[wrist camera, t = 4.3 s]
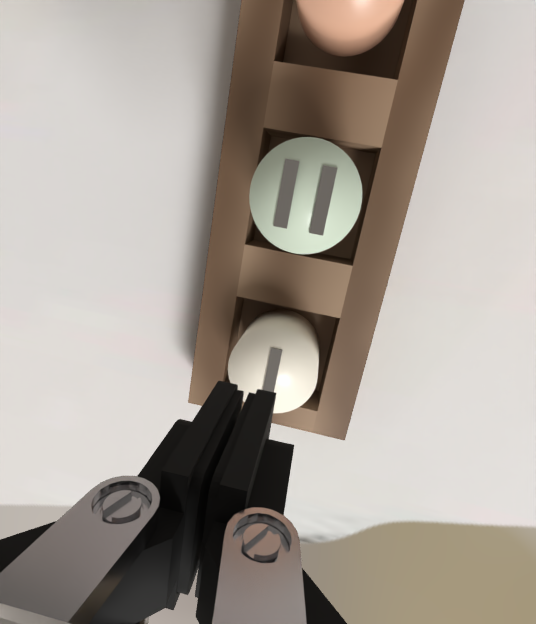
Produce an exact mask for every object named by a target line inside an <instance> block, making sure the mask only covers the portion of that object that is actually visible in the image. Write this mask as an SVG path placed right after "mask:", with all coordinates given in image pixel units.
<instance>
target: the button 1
mask: <svg viewBox="0 0 536 624" xmlns="http://www.w3.org/2000/svg"><path fill="white" fill-rule="evenodd" d="M319 352H320V343H319V338H318V335H317V332H316V330H315V329H314V327H313V326H312V324H311V323H310V322H309V321H308V320H307V319H306V318H304V317H303V316H302V315H300V314H298V313H296V312H293V311H290V310H284V309H276V310H270V311H267V312H264V313H262V314H260V315H259V316H257V317H256V318H255V319H254V320H253V321H252V322H251V323H250V325H249V326H248V327H247V329H246V330H245V332H244V334H243V335H242V337H241V338H240V340H239V341H238V343H237V344H236V346H235V347H234V349H233V351H232V352H231V355H230V358H229V362H228V375H229V380H230V383H233V384H237V385H238V390H241V391H244V396H243V401H244V402H245V400H246V398H247V396H248V394H249V392H250V393H255V394H256V391H257V389H261V390H265V391H270V392H275V393H276V399H275V405H274V411H273V413H284V412H289V411H292V410H294V409H296V408H298V407H300V406H301V405H303V404H304V403H305V402H306V401H307V400H308V399H309V398H310V396H311V395H312V393H313V392H314V390H315V387H316V384H317V379H318V366H319Z"/></svg>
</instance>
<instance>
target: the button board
mask: <svg viewBox="0 0 536 624" xmlns="http://www.w3.org/2000/svg"><path fill="white" fill-rule="evenodd" d="M463 4H464V0H404V3H403V6H402V9H401V11H400V14H399V16H398V19H397V21H396V22H395V24H394V26H393V28H392V29H391V30H390V32H389V33H388V34H387V36H386V37H385V38H384V39H383V40H382V41H381V42H380V43H379V44H377V45H376V46H375V47H373V48H372V49H370V50H368V51H366V52H364V53H361V54H358V55H354V56H346V57H343V56H335V55H331V54H328V53H326V52H324V51H322V50H321V49H319V48H318V47H317V46H315V45H314V44H313V43H312V42H311V41H310V39H309V38H308V37H307V35H306V34H305V32H304V30H303V28H302V25H301V22H300V19H299V15H298V9H297V3H296V0H241V8H240V15H239V23H238V30H237V38H236V46H235V53H234V61H233V68H232V76H231V83H230V91H229V98H228V106H227V113H226V121H225V128H224V136H223V143H222V151H221V159H220V166H219V174H218V181H217V189H216V196H215V204H214V211H213V219H212V226H211V234H210V241H209V249H208V256H207V264H206V272H205V279H204V287H203V294H202V302H201V309H200V317H199V324H198V332H197V339H196V347H195V354H194V362H193V369H192V377H191V385H190V392H189V400H188V403H192V404H197V405H201V406H203V404H204V402H205V401H206V399H207V398H208V396H209V395H210V393H211V391H212V390H213V388H214V387H215V385H216V383H217V382H218V381H223V382H228V383H230V380H229V375H228V362H229V358H230V355H231V352H232V351H233V349H234V347H235V346H236V344H237V343H238V341H239V340H240V338H241V337H242V335H243V334H244V332H245V330H246V329H247V327H248V326H249V325H250V323H251V322H252V321H253V320H254V319H255V318H256V317H257V316H259V315H260V314H262V313H264V312H267V311H270V310H276V309H284V310H290V311H293V312H296V313H298V314H300V315H302V316H303V317H304V318H306V319H307V320H308V321H309V322H310V323H311V324H312V326H313V327H314V329H315V330H316V332H317V335H318V338H319V343H320V352H319V366H318V379H317V384H316V387H315V390H314V392H313V393H312V395H311V396H310V398H309V399H308V400H307V401H306V402H305V403H304V404H303V405H301V406H300V407H298V408H296V409H294V410H292V411H289V412H284V413H273V416H272V422H271V423H275V424H279V425H283V426H287V427H291V428H295V429H300V430H304V431H308V432H312V433H316V434H320V435H324V436H328V437H332V438H337V439H341V440H345V437H346V434H347V430H348V426H349V423H350V419H351V415H352V411H353V408H354V404H355V400H356V397H357V393H358V389H359V386H360V382H361V378H362V375H363V371H364V367H365V364H366V360H367V356H368V353H369V349H370V345H371V342H372V338H373V334H374V331H375V327H376V323H377V320H378V316H379V312H380V309H381V305H382V301H383V298H384V294H385V290H386V287H387V283H388V279H389V276H390V272H391V268H392V265H393V261H394V257H395V254H396V250H397V246H398V243H399V239H400V235H401V232H402V228H403V224H404V221H405V217H406V213H407V210H408V206H409V202H410V199H411V195H412V191H413V188H414V184H415V180H416V177H417V173H418V169H419V166H420V162H421V158H422V155H423V151H424V147H425V144H426V140H427V136H428V133H429V129H430V125H431V122H432V118H433V114H434V110H435V107H436V103H437V99H438V96H439V92H440V88H441V85H442V81H443V77H444V74H445V70H446V66H447V63H448V59H449V55H450V52H451V48H452V44H453V41H454V37H455V33H456V30H457V26H458V22H459V19H460V15H461V11H462V8H463ZM300 137H315V138H320V139H324V140H326V141H329V142H331V143H333V144H335V145H336V146H338V147H339V148H341V149H342V150H343V151H344V152H345V153H346V154H347V155H348V156H349V157H350V159H351V160H352V161H353V163H354V165H355V166H356V168H357V170H358V173H359V176H360V180H361V184H362V203H361V209H360V212H359V215H358V218H357V220H356V222H355V224H354V226H353V227H352V229H351V230H350V231H349V233H348V234H347V235H346V236H345V237H344V238H343V239H342V240H341V241H340V242H338V243H337V244H336V245H334V246H332V247H331V248H329V249H327V250H324V251H322V252H318V253H313V254H296V253H291V252H287V251H285V250H282V249H280V248H278V247H277V246H275V245H273V244H272V243H271V242H270V241H268V240H267V239H266V238H265V237H264V236H263V234H262V233H261V232H260V230H259V229H258V227H257V225H256V224H255V221H254V219H253V216H252V213H251V209H250V200H249V194H250V186H251V181H252V178H253V175H254V173H255V171H256V169H257V167H258V165H259V164H260V162H261V161H262V159H263V158H264V157H265V156H266V155H267V154H268V153H269V152H270V151H271V150H272V149H273V148H275V147H276V146H278V145H279V144H281V143H283V142H285V141H288V140H291V139H294V138H300ZM244 403H245V402H244V401H243V402H242V407H243V405H244ZM241 410H242V409H241Z"/></svg>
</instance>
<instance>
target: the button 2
mask: <svg viewBox="0 0 536 624" xmlns="http://www.w3.org/2000/svg"><path fill="white" fill-rule="evenodd" d="M249 200H250V209H251V213H252V216H253V219H254V221H255V224H256V225H257V227H258V229H259V230H260V232H261V233H262V234H263V236H264V237H265V238H266V239H267V240H268V241H270V242H271V243H272V244H273V245H275V246H277V247H278V248H280V249H282V250H285V251H287V252H291V253H296V254H313V253H318V252H322V251H324V250H327V249H329V248H331V247H332V246H334V245H336V244H337V243H338V242H340V241H341V240H342V239H343V238H344V237H345V236H346V235H347V234H348V233H349V231H350V230H351V229H352V227H353V226H354V224H355V222H356V220H357V218H358V215H359V212H360V209H361V203H362V184H361V180H360V176H359V173H358V170H357V168H356V166H355V165H354V163H353V161H352V160H351V159H350V157H349V156H348V155H347V154H346V153H345V152H344V151H343V150H342V149H341V148H339V147H338V146H336V145H335V144H333V143H331V142H329V141H326V140H324V139H320V138H315V137H300V138H294V139H291V140H288V141H285V142H283V143H281V144H279V145H278V146H276V147H275V148H273V149H272V150H271V151H270V152H269V153H268V154H267V155H266V156H265V157H264V158H263V159H262V161H261V162H260V164H259V165H258V167H257V169H256V171H255V173H254V175H253V178H252V181H251V186H250V194H249Z"/></svg>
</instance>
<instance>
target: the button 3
mask: <svg viewBox="0 0 536 624" xmlns="http://www.w3.org/2000/svg"><path fill="white" fill-rule="evenodd" d="M296 3H297V9H298V15H299V19H300V22H301V25H302V28H303V30H304V32H305V34H306V35H307V37H308V38H309V39H310V41H311V42H312V43H313V44H314V45H315V46H317V47H318V48H319V49H321V50H322V51H324V52H326V53H328V54H331V55H335V56H343V57H346V56H354V55H358V54H361V53H364V52H366V51H368V50H370V49H372V48H373V47H375V46H376V45H377V44H379V43H380V42H381V41H382V40H383V39H384V38H385V37H386V36H387V34H388V33H389V32H390V30H391V29H392V28H393V26H394V24H395V22H396V21H397V19H398V16H399V14H400V11H401V9H402V6H403V3H404V0H296Z"/></svg>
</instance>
